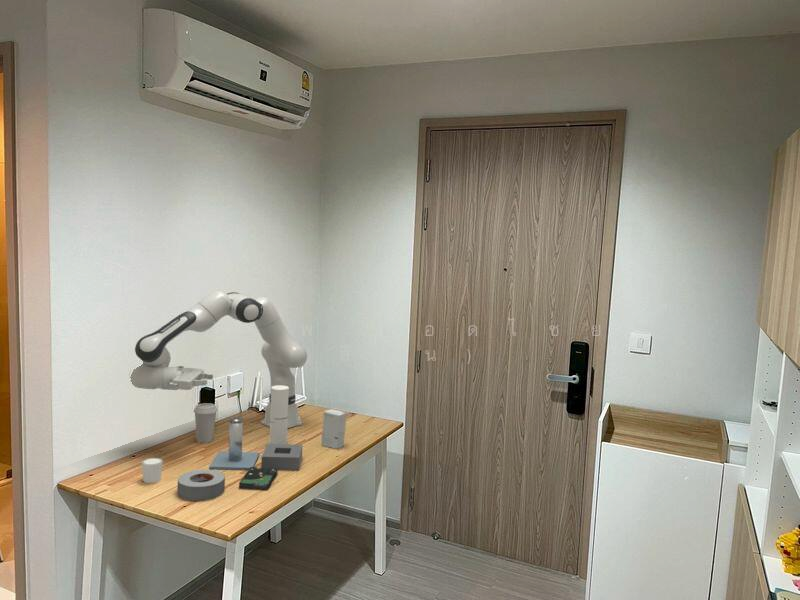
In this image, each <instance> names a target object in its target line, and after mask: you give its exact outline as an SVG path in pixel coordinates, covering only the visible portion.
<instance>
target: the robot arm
mask: <svg viewBox="0 0 800 600" xmlns="http://www.w3.org/2000/svg"><path fill="white" fill-rule="evenodd" d="M226 316H229V317H230V318H231V319H234V320H236V321H239V322H241V323H246V324H250V323H254V324H255V326H256V329H257V331H258V332H259V334H260V336H261V339H263V341H264V343H263V344H262V346H261V356H262V358H263V359H264V360H265V362H266V364H267V368H268V371H269V376H270V388H271V387H272V386H277V385H283V386H288V387H289V396H288V423H287V429H289V428H293V427H297V426H301V425H303V422H302V419H301V416H300V413H299V407H298V405H297V404H296V394H295V393H296V392H295V391H296V378H295V375H294V374H293V373H292V371H291V369H295V368H297V369H299V368H302V367H303V366H304V365H305V363H306V362H307V359H308V353H307V350H306V349H305V348H304V346H301V345H300V344H299V342H297V340H296V339H295V338H294V337H293V336H292V334H290V332H289V331H288V330H287V328H286V326H285V323H284V322H283V321H282V318H281V317H280V314H279V312H278V310H277V309H276V307H275V305H274V304H273V302H271V300H270V299H269V298H268V297H266V296H260V297H256V298H255V299H254V298H252V297H249V296H248V295H245V294H242V293H239V292H235V291H234V292H233V291H232V292H224V291H223V290H216V291H213V292H211V293H210V294H208V295H206V296H205V297H203V298H202V299H201V300H200V301H198V303H196V304H195V305H194V306H193V307H191V308H190V309H188V310H186V311H185V312H183V313H181V314H179V315H177V316H175V317H174V318H173V319H172V320H170V321H168V322H167V323H165V324H164V325H163V326H161V327H160V328H158V329H157V330H155V331H154V332H151V333H149V334H145V335H144V336H142V337H140V338H139V340H138V341H137V342H136V344H135V347H134V352H135V355H136V357H138V358H139V359H140V360H142V361H143V364H142V365H141V366H139V367H137V368H136V369H134V370H133V372H132V374H131V377H130V376H129V379H130V378H131V380H130V383H131V382H132V383H131V384H132V386H134V387H135V388H137V389H146V390H156V389H161V390H166V391H177V390H182V391H183V390H184V391H189V390H192V389H193V388H194V387H200V386H207V385H208V380H213V379H214V375H213V374H210V373H205V371H204V369H201V368H193V367H185V366H182V365H179V366H170V362H171V353H170V352H169V350H168V348H167V345H168V344H169V343H170V342H172V341H173V340H175V338H177V337H178V336H179V335H181V334H183V333H184V332H187V331H193V332H195V333H196V332H197V333H203V332H206V331H208V330H210V329H211V328H212V327H214V326H215V325H216V324H217V323H218V322H219V321H220V320H221V319H222V318H224V317H226ZM268 400H269V401H268V404H267V405H266V406H265V413H264V414H265V415H264V419H262V420H261V421H260V424H261V425H265V426H267V427H269V428H270V411H271V393H269V396H268Z"/></svg>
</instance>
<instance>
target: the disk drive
mask: <svg viewBox="0 0 800 600" xmlns="http://www.w3.org/2000/svg"><path fill="white" fill-rule="evenodd" d="M246 471H247V472H246V473H245V474H244V475H243V477H242V478H241V480H240V481H239V484H238V489H239V490H240V489H241V490H253V491H254V490H255V491H256V490H257V491H268V490H269V489H270V488H271V486H272V484H273V483H272V482H274V481H275V479H276V478H277V476H278V472H279V470H278V469H275V468H261V467H260V468H258V467H257V466H254V467H250V468H249V470H246Z"/></svg>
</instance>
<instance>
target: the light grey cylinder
mask: <svg viewBox="0 0 800 600" xmlns="http://www.w3.org/2000/svg"><path fill="white" fill-rule="evenodd" d="M163 463H164V461H163V459H161V458H158V457H151V458H146V459H144V460H142V462H141V469H142V470H141V471H142V480H143V481H144V482H145V483H144V482H143V481H142V482H143V483H144V484H147V483H153V484H156V483H155V482H157V483H159V482H161V480H162V471H163ZM158 481H159V482H158Z"/></svg>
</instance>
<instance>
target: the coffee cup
mask: <svg viewBox="0 0 800 600" xmlns="http://www.w3.org/2000/svg"><path fill="white" fill-rule="evenodd" d="M217 412H218V408H217V407H216V404H215V403H209V402H208V403H207V402H205V403H204V402H203V403H198V404H197V405H195V407H194V409H193V413H194V420H195V421H194V422H195V434H196V442H197V443H199V442H201V443H200V444H208V443H207V442H209V443H211V441H212V442H213V441H214V436H215V435H214V433H215V425H216V424H215V423H216V416H217Z"/></svg>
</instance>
